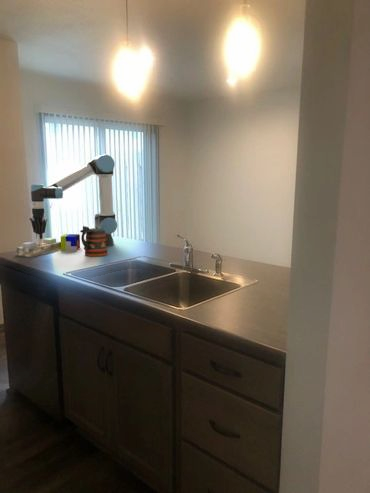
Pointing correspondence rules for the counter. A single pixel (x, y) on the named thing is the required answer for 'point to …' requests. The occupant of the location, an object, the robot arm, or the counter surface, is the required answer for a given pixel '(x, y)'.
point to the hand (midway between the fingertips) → (39, 243)
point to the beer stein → (94, 242)
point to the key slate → (29, 245)
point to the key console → (38, 249)
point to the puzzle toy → (70, 242)
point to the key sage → (49, 240)
